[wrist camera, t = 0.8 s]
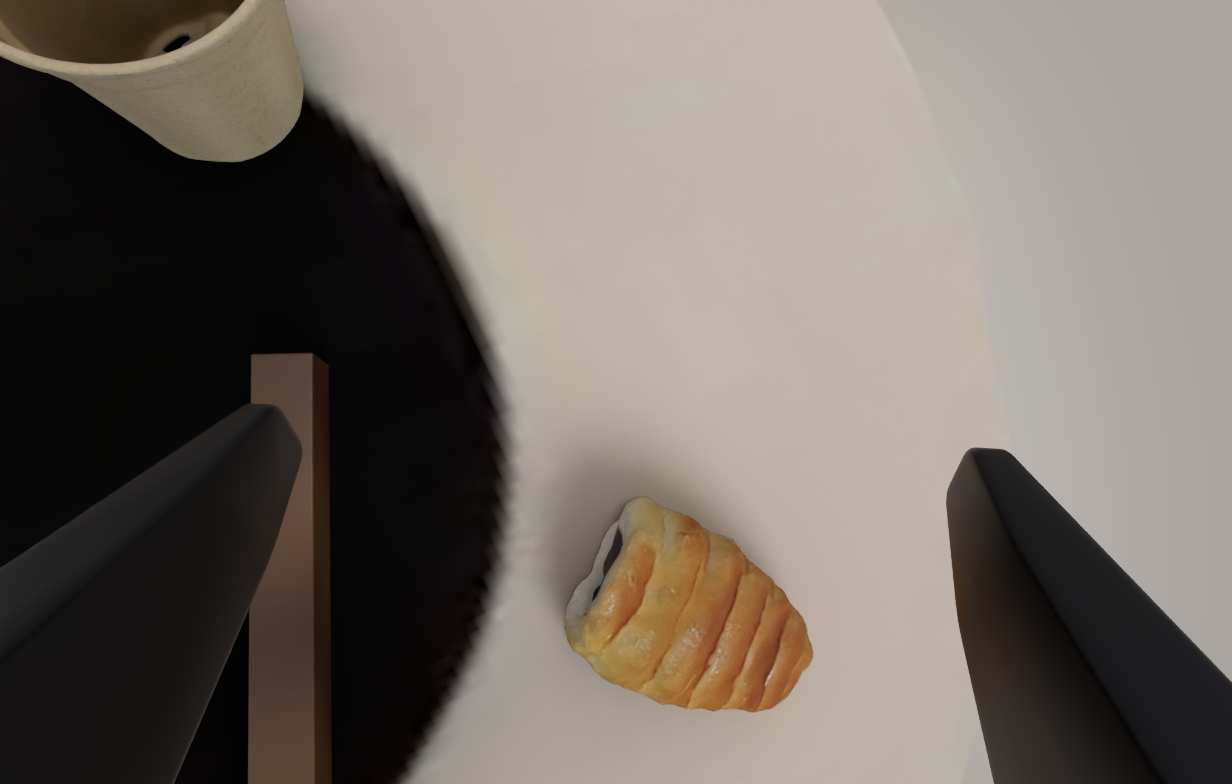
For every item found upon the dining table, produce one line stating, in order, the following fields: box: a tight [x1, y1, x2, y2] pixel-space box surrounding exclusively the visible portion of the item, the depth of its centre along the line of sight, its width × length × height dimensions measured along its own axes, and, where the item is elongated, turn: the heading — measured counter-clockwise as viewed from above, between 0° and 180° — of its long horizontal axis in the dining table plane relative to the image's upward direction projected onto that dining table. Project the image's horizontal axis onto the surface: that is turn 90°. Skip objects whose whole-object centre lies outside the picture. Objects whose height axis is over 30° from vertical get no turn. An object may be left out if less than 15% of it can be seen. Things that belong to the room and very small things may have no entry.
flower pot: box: [0, 0, 304, 162], centre depth 22 cm, size 9×9×9 cm
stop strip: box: [248, 353, 332, 784], centre depth 23 cm, size 20×2×2 cm, turn 4°
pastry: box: [565, 497, 813, 712], centre depth 25 cm, size 9×7×4 cm
